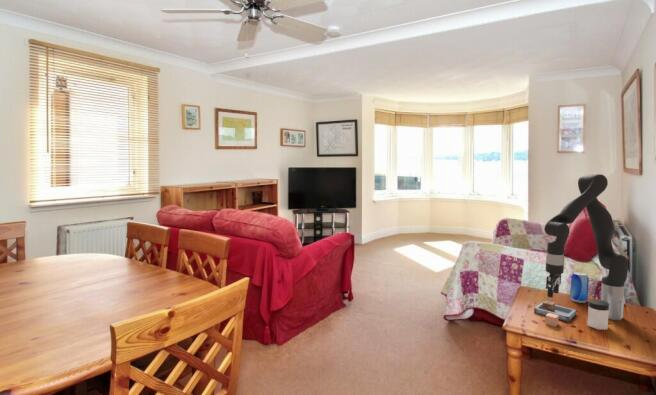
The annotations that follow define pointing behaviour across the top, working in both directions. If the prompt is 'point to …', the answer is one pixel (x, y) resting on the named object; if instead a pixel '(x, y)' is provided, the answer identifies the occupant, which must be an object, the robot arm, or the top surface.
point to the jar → (598, 314)
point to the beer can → (579, 287)
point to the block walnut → (549, 306)
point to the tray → (557, 312)
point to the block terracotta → (552, 319)
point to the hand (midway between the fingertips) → (553, 295)
